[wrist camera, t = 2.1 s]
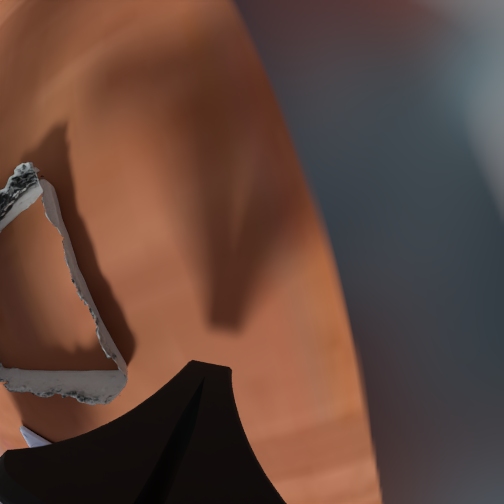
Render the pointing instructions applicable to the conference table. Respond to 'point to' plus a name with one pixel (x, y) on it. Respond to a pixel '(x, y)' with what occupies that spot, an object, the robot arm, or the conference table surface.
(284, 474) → the conference table surface
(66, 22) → the conference table surface
